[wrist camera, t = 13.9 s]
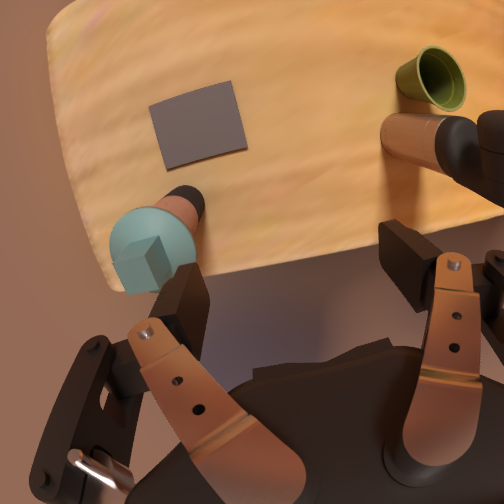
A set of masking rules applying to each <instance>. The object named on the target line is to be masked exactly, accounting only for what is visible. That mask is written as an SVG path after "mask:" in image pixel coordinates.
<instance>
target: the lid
mask: <svg viewBox="0 0 504 504" xmlns="http://www.w3.org/2000/svg"><path fill="white" fill-rule="evenodd" d="M110 254H111V258H112V260H113V263H112V264H113V266H114V268H115V270H116V272H117V274H118V276H119V278H120V281H121V283H122V285H123V287H124V289H125V290H126V292H127V294H128V295H132V294H138V293H143V292H151V293H160V291H161V288H162V286H163V285H164V284H165V283H166V282H167V281H168V280H169V279H170V278H173V277H174V275H175V272H176V270H177V268H178V266H179V265H183V264H188V263H193V262H196V260H197V248H196V243H195V240H194V238H193V235H192V233H191V232H190V230H189V228H188V227H187V226H186V224H185V223H184V222H183V221H182V220H181V219H180V218H178V217H177V216H176V215H174V214H173V213H171V212H169V211H167V210H165V209H162V208H158V207H149V206H147V207H140V208H136V209H134V210H131V211H130V212H128V213H126V214H125V215H124V216H123V217H122V218H121V219H119V221H118V222H117V223H116V224H115V226H114V228H113V230H112V232H111V236H110Z"/></svg>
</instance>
